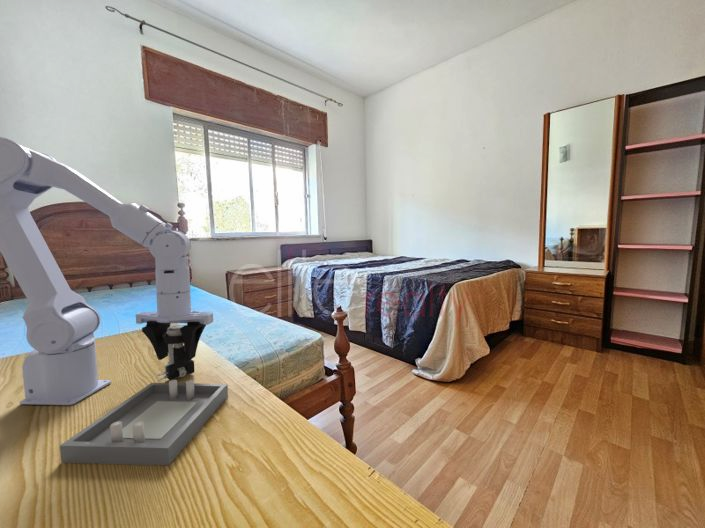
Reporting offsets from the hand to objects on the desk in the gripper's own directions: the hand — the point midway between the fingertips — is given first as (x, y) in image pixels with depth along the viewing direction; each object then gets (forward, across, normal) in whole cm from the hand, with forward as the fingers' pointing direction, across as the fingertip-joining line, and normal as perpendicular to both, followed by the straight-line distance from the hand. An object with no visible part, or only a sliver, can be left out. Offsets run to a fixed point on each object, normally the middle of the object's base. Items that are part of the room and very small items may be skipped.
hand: (176, 358), depth 58 cm
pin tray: (+4, +6, -14) cm, 16 cm away
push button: (+4, 0, 0) cm, 4 cm away
